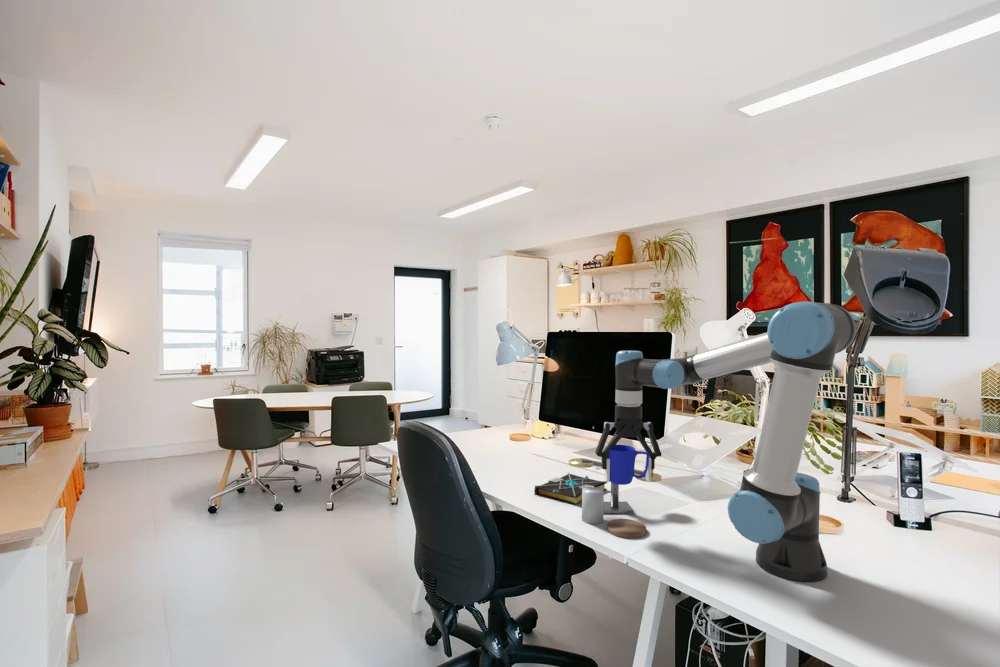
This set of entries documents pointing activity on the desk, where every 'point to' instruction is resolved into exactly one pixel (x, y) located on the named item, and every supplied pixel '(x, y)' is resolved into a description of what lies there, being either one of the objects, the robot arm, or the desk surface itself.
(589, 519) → the white cylinder
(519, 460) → the desk surface
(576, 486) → the book
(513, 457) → the desk surface
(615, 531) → the dish
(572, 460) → the balance
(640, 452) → the mug
